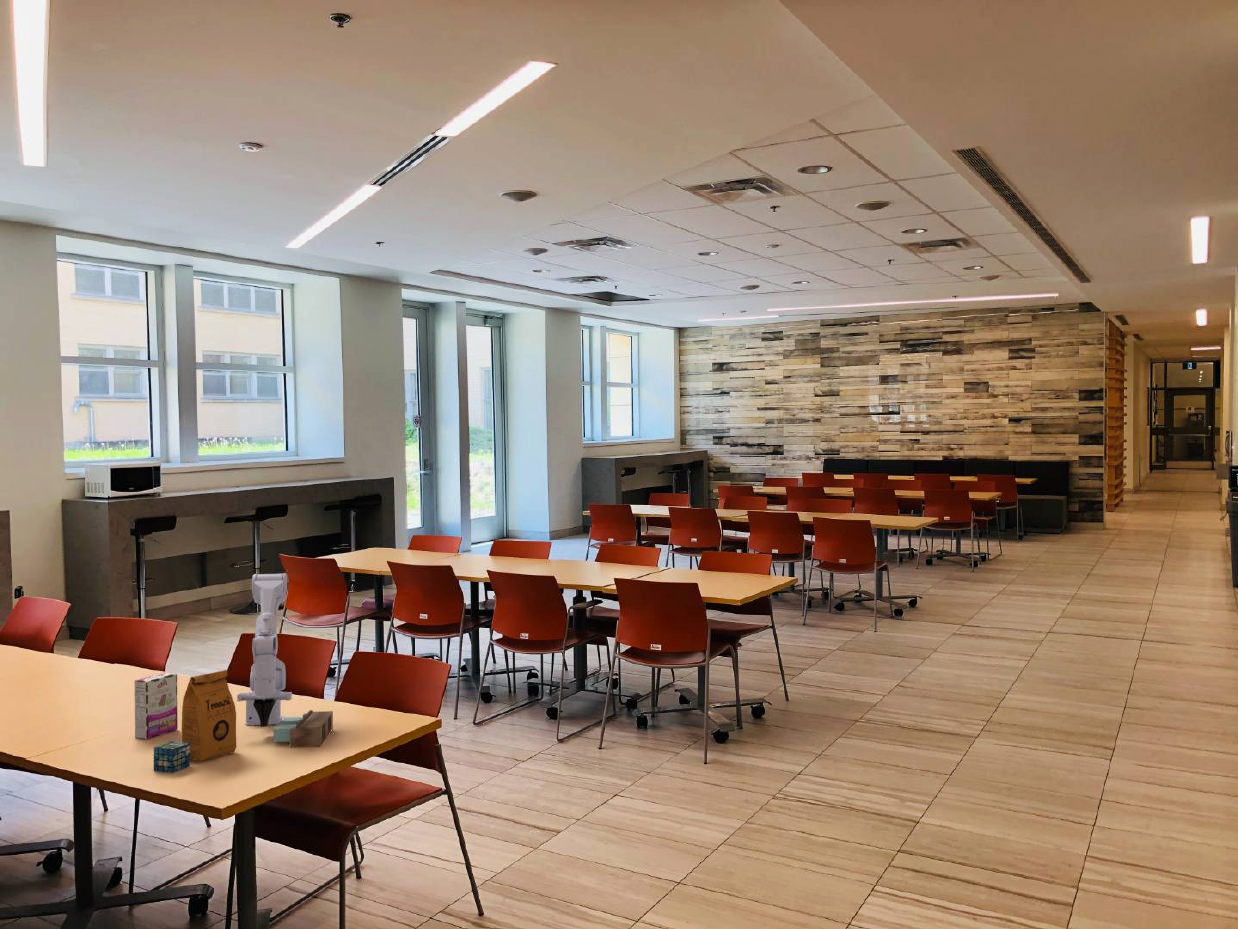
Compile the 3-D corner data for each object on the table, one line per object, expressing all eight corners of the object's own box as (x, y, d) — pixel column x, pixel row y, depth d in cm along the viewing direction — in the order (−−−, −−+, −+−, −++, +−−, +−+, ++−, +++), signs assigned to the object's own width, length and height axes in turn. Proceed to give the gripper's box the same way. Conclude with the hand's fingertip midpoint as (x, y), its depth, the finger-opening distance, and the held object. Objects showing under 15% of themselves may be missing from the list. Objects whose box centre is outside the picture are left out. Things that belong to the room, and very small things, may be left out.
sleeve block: (289, 747, 261) (290, 726, 261) (304, 730, 278) (304, 710, 278) (320, 746, 262) (320, 725, 262) (332, 730, 279) (332, 710, 279)
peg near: (273, 742, 263) (273, 728, 263) (277, 737, 267) (277, 725, 267) (303, 741, 264) (303, 728, 264) (306, 737, 268) (306, 724, 268)
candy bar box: (164, 728, 280) (165, 671, 280) (178, 730, 278) (178, 673, 278) (133, 738, 269) (133, 679, 269) (146, 740, 268) (147, 681, 268)
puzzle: (170, 764, 246) (170, 741, 246) (190, 766, 244) (190, 743, 244) (153, 771, 240) (153, 747, 240) (172, 773, 239) (172, 749, 239)
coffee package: (241, 753, 255) (242, 670, 255) (198, 765, 245) (199, 679, 245) (219, 747, 261) (220, 666, 261) (176, 759, 250) (177, 674, 251)
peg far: (280, 734, 271) (280, 721, 271) (284, 730, 275) (284, 717, 275) (309, 733, 272) (310, 720, 272) (313, 729, 276) (313, 717, 276)
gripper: (234, 681, 268) (233, 730, 268) (287, 680, 269) (287, 729, 269) (241, 676, 275) (241, 723, 275) (293, 675, 276) (293, 722, 276)
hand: (264, 726), depth 273 cm, fingers closed
